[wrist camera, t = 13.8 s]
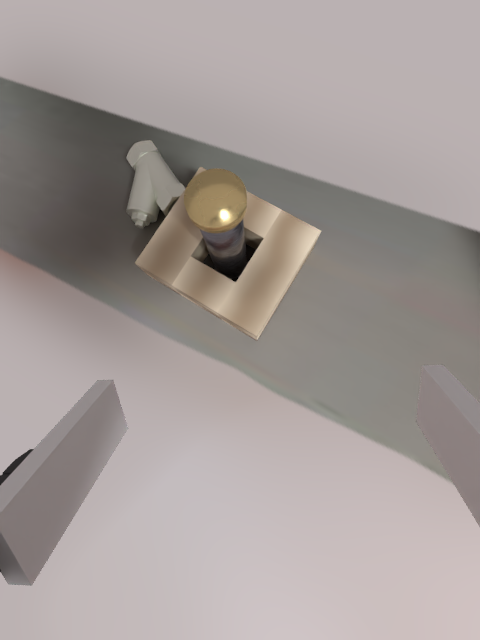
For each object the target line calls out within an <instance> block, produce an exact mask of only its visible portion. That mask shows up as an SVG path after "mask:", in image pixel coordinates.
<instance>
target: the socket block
mask: <svg viewBox="0 0 480 640" xmlns="http://www.w3.org/2000/svg"><path fill="white" fill-rule="evenodd" d="M203 171H206V169H204V168H202V167H200V168H199V169H198V171H197V172H196V174H195V175H194V177H195V176H196V175H198V174H199V173H201V172H203ZM194 177H193V178H194ZM193 178H192V179H193ZM185 190H186V189H185ZM185 190H184V191H183V193H182V194H181V196H180V197H179V199H178V200H177V202H176V203H175V205H174V206H173V208H172V209H171V210H170V212H169V213H168V215H167V216H166V218H165V219H164V221H163V222H162V224H161V225H160V227H159V228H158V230H157V231H156V232H155V234H154V235H153V237H152V238H151V240H150V241H149V243H148V244H147V246H146V247H145V249H144V250H143V252H142V253H141V254H140V256H139V257H138V259H137V260H136V262H135V264H136V265H137V266H139V267H140V268H141V269H142V270H143V271H144V272H145V273H146V274H147V275H148V276H150V277H152V278H153V279H155V280H157V281H158V282H160V283H162V284H163V285H165V286H167V287H168V288H170V289H172V290H173V291H175V292H177V293H178V294H180V295H182V296H183V297H185V298H187V299H188V300H190V301H192V302H193V303H195V304H196V305H198V306H200V307H201V308H203V309H205V310H206V311H208V312H210V313H211V314H213V315H215V316H216V317H218V318H220V319H221V320H223V321H225V322H226V323H228V324H230V325H231V326H233V327H235V328H236V329H238V330H240V331H241V332H243V333H245V334H246V335H248V336H250V337H251V338H253V339H255V340H256V341H257V340H258V339H259V337H260V335H261V334H262V332H263V330H264V329H265V327H266V326H267V324H268V322H269V321H270V319H271V317H272V316H273V314H274V312H275V311H276V309H277V307H278V306H279V304H280V302H281V301H282V299H283V297H284V296H285V294H286V293H287V291H288V289H289V288H290V286H291V284H292V283H293V281H294V279H295V278H296V276H297V274H298V273H299V271H300V269H301V268H302V266H303V264H304V263H305V261H306V260H307V258H308V256H309V255H310V253H311V251H312V250H313V248H314V246H315V244H316V242H317V239H318V237H319V235H320V233H321V231H320V230H319V229H317V228H315V227H313V226H311V225H309V224H307V223H305V222H303V221H302V220H300V219H298V218H296V217H294V216H292V215H290V214H288V213H287V212H285V211H283V210H281V209H279V208H277V207H275V206H273V205H272V204H270V203H268V202H266V201H264V200H262V199H260V198H258V197H256V196H255V195H253V194H251V193H249V192H247V191H246V193H247V210H246V213H245V216H244V218H243V223H244V234H245V244H247V245H249V246H251V247H253V248H254V249H256V251H255V253H254V255H253V256H252V258H251V259H250V261H249V262H248V264H247V266H246V267H245V269H244V270H243V272H242V274H241V275H240V277H239V278H238V280H237V281H236V282H234V281H233V280H231V279H229V278H227V277H226V276H224V275H222V274H221V273H219V272H217V271H215V270H214V269H212V268H210V267H208V266H207V265H205V264H203V261H204V260H205V258H206V257H207V255H208V254H209V251H208V248H207V246H206V243H205V241H204V238H203V236H202V233H201V231H200V229H199V228H198V227H197V226H195V225H194V224H193V222H192V221H191V219H190V218H189V215H188V213H187V211H186V208H185V205H184V193H185Z"/></svg>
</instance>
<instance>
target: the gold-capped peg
mask: <svg viewBox="0 0 480 640" xmlns="http://www.w3.org/2000/svg"><path fill="white" fill-rule="evenodd" d="M184 205H185V208H186V211H187V213H188V215H189V218H190V219H191V221H192V222H193V224H194V225H195V226H197V227H198V228H199V229H200V231H201V233H202V236H203V238H204V241H205V243H206V246H207V248H208V251H209V254H210V256H211V259H212V261H213V264H214V266H215V269H216V271H217V272H219V273H221V274H222V275H224V276H226V277H227V278H235V277H238V276H240V275H241V274H242V272H243V270H244V269H245V267H246V266H247V256H246V245H245V234H244V223H243V218H244V216H245V213H246V210H247V193H246V188H245V186H244V184H243V182H242V181H241V179H240V178H239V177H238V176H237V175H235V174H234V173H232V172H230V171H228V170H224V169H209V170H206V171H203V172H201V173H199V174H198V175H196V176H195V177H194V178H193V179H192V180H191V181H190V182H189V184H188V185H187V187H186V190H185V193H184Z"/></svg>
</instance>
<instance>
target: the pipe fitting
mask: <svg viewBox="0 0 480 640" xmlns="http://www.w3.org/2000/svg"><path fill="white" fill-rule="evenodd" d="M126 159H127V160H128V162H129V163H130V165H131V166H132V168H133V169H134V170H135V176H134V181H133V185H132V189H131V193H130V197H129V202H128V206H127V210H126V211H127V213H128V214H129V215H130V216H131V217H132V218H131V219H132V221H133V222H135V226H136V227H138V228H144V226H147V225H149V224H150V222H156V221H157V218H158V213H159V209H161V210H162V211H163V213H164V214H165V215H166V216H167V215H168V213H169V212H170V210H171V209H172V208H173V206H174V205H175V203H176V202H177V200H178V199H179V197H180V196H181V194H182V193H183V191H184V190H185V187H184V186H183V184H182V183H180V182H179V181H178V179H177V178H176V176H175V175H174V174H173V172H172V171H171V169H170V168H169V167H168V165H167V164H166V162H165V161H164V160H163V158H162V156H161V154H160V153H159V151H158V149H157V148H156V147H155V145H154V144H153V142H152V141H151V140H146V141H140V142H137V143H135V144H134V145H133V146H132V147H131V149H130V150H129V152H128V155H127V158H126Z"/></svg>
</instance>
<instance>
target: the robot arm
mask: <svg viewBox="0 0 480 640" xmlns="http://www.w3.org/2000/svg"><path fill="white" fill-rule="evenodd" d="M416 422H417V424H418V426H419V427H420V429H421V431H422V432H423V434H424V436H425V437H426V439H427V441H428V442H429V444H430V446H431V447H432V449H433V450H434V452H435V454H436V455H437V457H438V459H439V460H440V462H441V464H442V465H443V467H444V469H445V470H446V472H447V474H448V475H449V477H450V478H451V480H452V482H453V483H454V485H455V487H456V488H457V490H458V491H459V493H460V495H461V497H462V498H463V500H464V502H465V503H466V505H467V506H468V508H469V509H470V511H471V513H472V515H473V516H474V518H475V519H476V521H477V523H478V525H479V526H480V403H479V402H478V401H477V400H476V399H475V398H474V397H473V396H472V395H471V393H470V392H469V391H468V390H467V389H466V388H465V387H464V386H463V385H462V384H461V383H460V382H459V381H458V380H457V379H456V378H455V377H454V376H453V375H452V374H451V373H450V372H449V370H448V369H447V368H446V367H445V366H444V365H424V366H422V372H421V381H420V390H419V399H418V408H417V417H416ZM127 429H128V427H127V424H126V420H125V417H124V414H123V411H122V407H121V404H120V401H119V397H118V394H117V391H116V388H115V384H114V381H113V380H98V381H97V382H96V383H95V384H94V385H93V386H92V387H91V388H90V389H89V390H88V391H87V392H86V393H85V395H84V396H83V397H82V398H81V399H80V400H79V401H78V402H77V403H76V404H75V405H74V407H73V408H72V409H71V410H70V411H69V412H68V413H67V414H66V415H65V416H64V417H63V419H62V420H60V422H59V423H58V424H57V425H56V426H55V427H54V428H53V429H52V430H51V431H50V432H49V433H48V435H47V436H46V437H45V438H44V439H43V440H42V441H41V442H40V443H39V444H38V445H37V446H36V448H35V449H30V450H28V451H27V452H26V453H24V454H23V455H21V456H20V457H19V458H17V459H16V460H15V461H14V462H13V463H12V464H11V465H10V466H9V467H8V468H7V469H6V470H5V471H4V472H3V475H1V476H0V572H1V573H2V575H3V576H4V578H5V580H6V581H7V583H8V584H12V585H13V584H14V585H32V584H33V583H34V581H35V579H36V578H37V576H38V574H39V573H40V571H41V569H42V568H43V566H44V564H45V563H46V561H47V560H48V558H49V556H50V555H51V553H52V552H53V550H54V548H55V547H56V545H57V543H58V542H59V540H60V539H61V537H62V535H63V534H64V532H65V530H66V529H67V527H68V525H69V524H70V522H71V521H72V519H73V517H74V516H75V514H76V512H77V511H78V509H79V507H80V506H81V504H82V503H83V501H84V499H85V498H86V496H87V494H88V493H89V491H90V489H91V488H92V486H93V485H94V483H95V481H96V480H97V478H98V476H99V475H100V473H101V472H102V470H103V468H104V467H105V465H106V463H107V462H108V460H109V458H110V457H111V455H112V453H113V452H114V450H115V449H116V447H117V446H118V444H119V442H120V441H121V439H122V437H123V436H124V434H125V432H126V431H127Z"/></svg>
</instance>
